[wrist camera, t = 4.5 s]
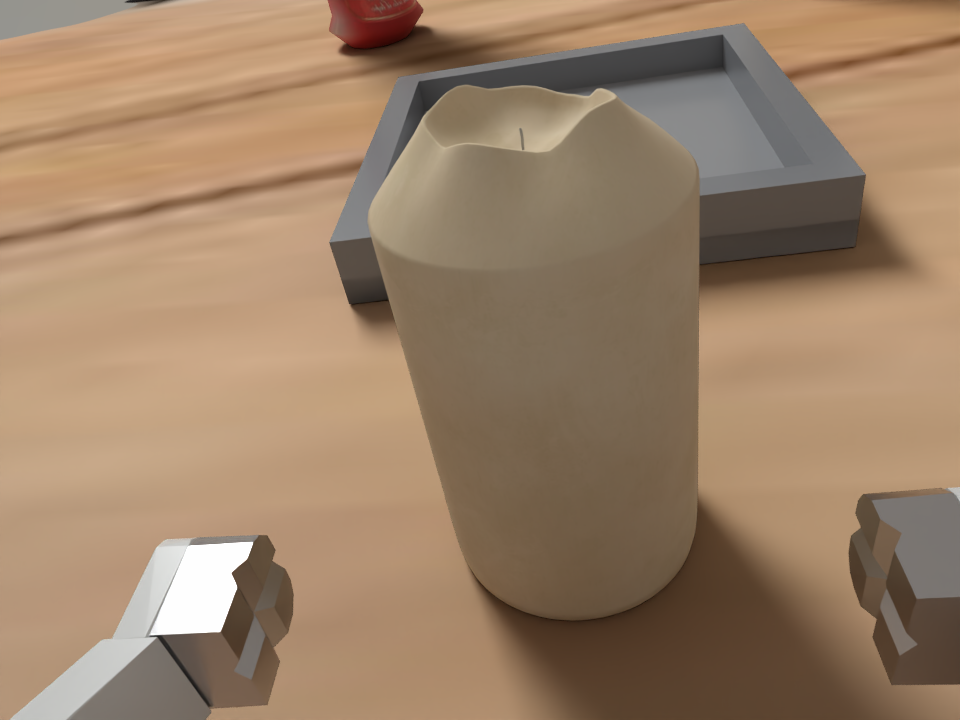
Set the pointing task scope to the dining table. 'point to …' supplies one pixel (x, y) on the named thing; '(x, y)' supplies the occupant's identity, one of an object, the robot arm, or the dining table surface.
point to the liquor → (373, 21)
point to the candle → (552, 338)
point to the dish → (680, 112)
